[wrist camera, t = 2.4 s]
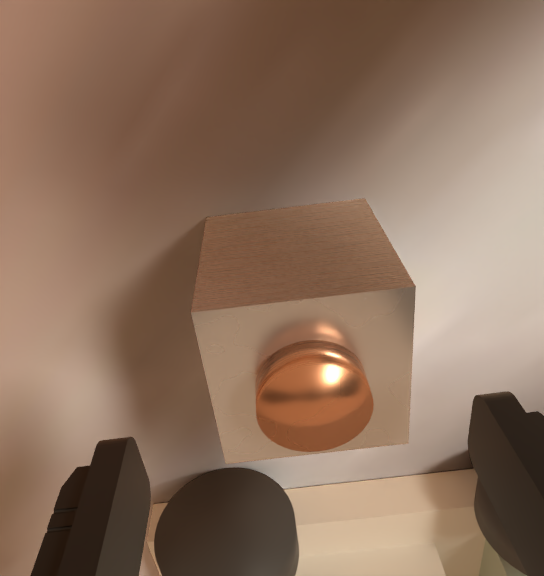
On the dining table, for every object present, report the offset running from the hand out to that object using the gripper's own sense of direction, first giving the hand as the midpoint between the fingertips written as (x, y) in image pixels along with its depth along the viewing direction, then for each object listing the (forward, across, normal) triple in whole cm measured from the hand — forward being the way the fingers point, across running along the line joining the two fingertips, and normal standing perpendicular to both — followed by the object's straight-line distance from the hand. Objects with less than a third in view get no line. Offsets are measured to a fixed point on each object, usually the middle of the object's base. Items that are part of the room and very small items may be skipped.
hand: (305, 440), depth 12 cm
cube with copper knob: (+8, 0, 0) cm, 8 cm away
